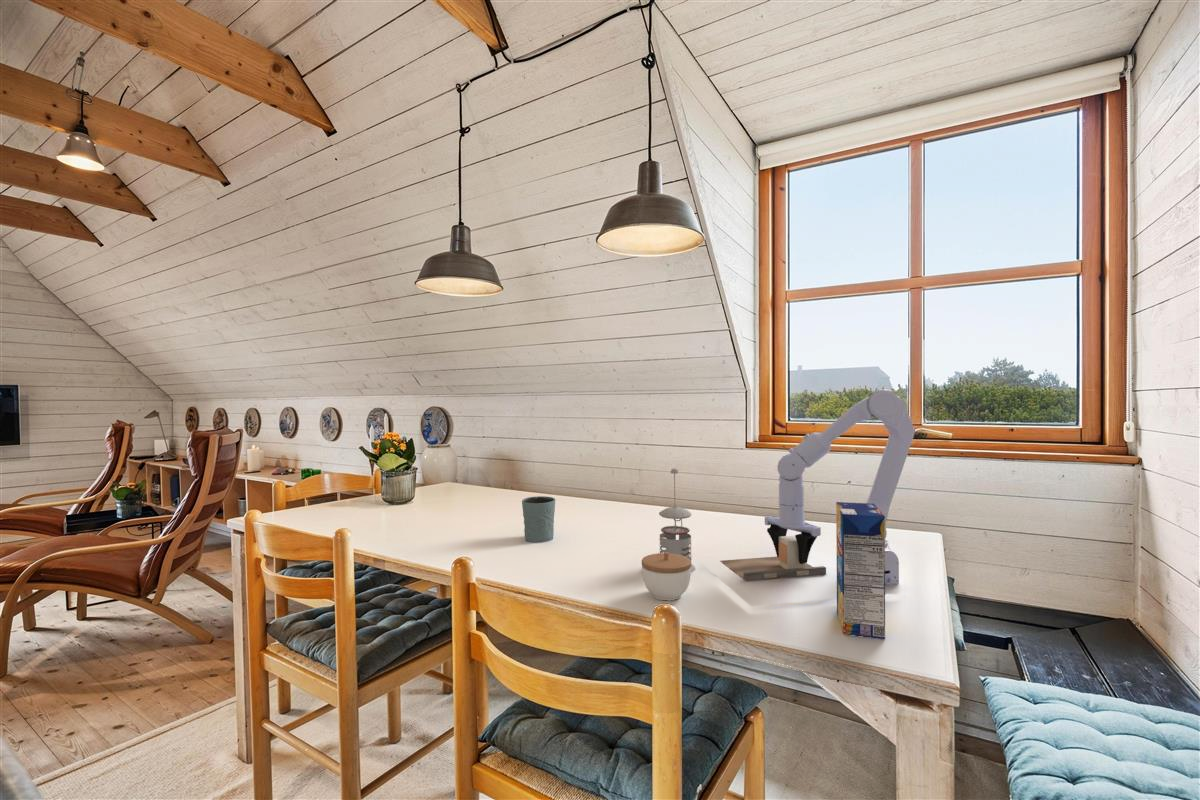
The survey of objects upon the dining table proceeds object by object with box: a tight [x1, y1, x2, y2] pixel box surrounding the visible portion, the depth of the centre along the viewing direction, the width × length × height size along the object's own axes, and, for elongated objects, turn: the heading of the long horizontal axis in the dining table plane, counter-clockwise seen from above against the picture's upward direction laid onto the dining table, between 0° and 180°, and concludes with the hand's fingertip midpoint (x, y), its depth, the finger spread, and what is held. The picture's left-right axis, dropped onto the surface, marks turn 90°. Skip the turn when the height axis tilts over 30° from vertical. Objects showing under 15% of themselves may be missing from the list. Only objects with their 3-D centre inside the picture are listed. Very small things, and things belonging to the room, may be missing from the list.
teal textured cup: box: [521, 495, 556, 544], centre depth 168 cm, size 10×10×12 cm
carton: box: [779, 535, 805, 569], centre depth 134 cm, size 5×4×7 cm
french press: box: [658, 468, 696, 573], centre depth 140 cm, size 10×12×25 cm
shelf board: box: [719, 556, 827, 582], centre depth 135 cm, size 15×20×3 cm
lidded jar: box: [641, 552, 692, 602], centre depth 121 cm, size 11×11×9 cm
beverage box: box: [835, 501, 886, 640], centre depth 104 cm, size 7×11×22 cm, turn 162°
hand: (791, 559), depth 135 cm, fingers closed on carton, 6 cm apart
